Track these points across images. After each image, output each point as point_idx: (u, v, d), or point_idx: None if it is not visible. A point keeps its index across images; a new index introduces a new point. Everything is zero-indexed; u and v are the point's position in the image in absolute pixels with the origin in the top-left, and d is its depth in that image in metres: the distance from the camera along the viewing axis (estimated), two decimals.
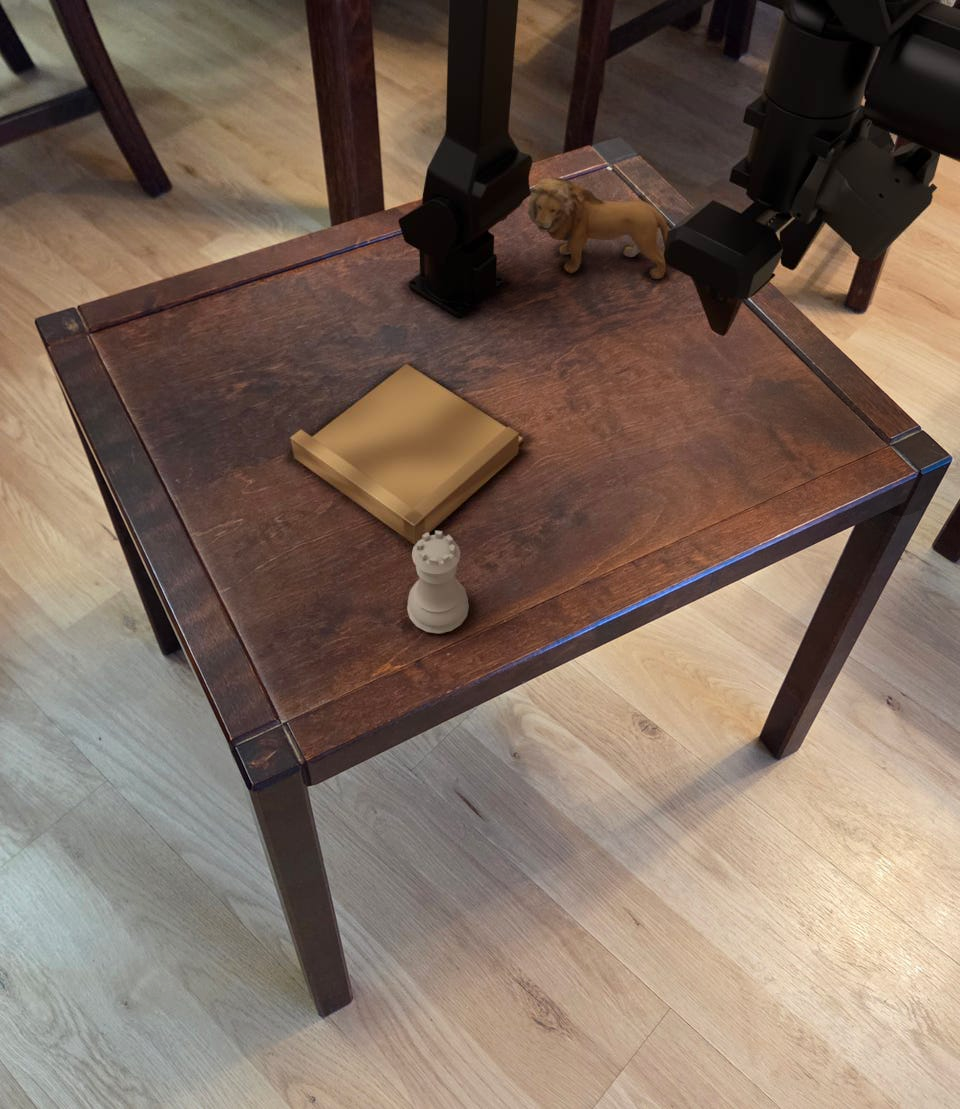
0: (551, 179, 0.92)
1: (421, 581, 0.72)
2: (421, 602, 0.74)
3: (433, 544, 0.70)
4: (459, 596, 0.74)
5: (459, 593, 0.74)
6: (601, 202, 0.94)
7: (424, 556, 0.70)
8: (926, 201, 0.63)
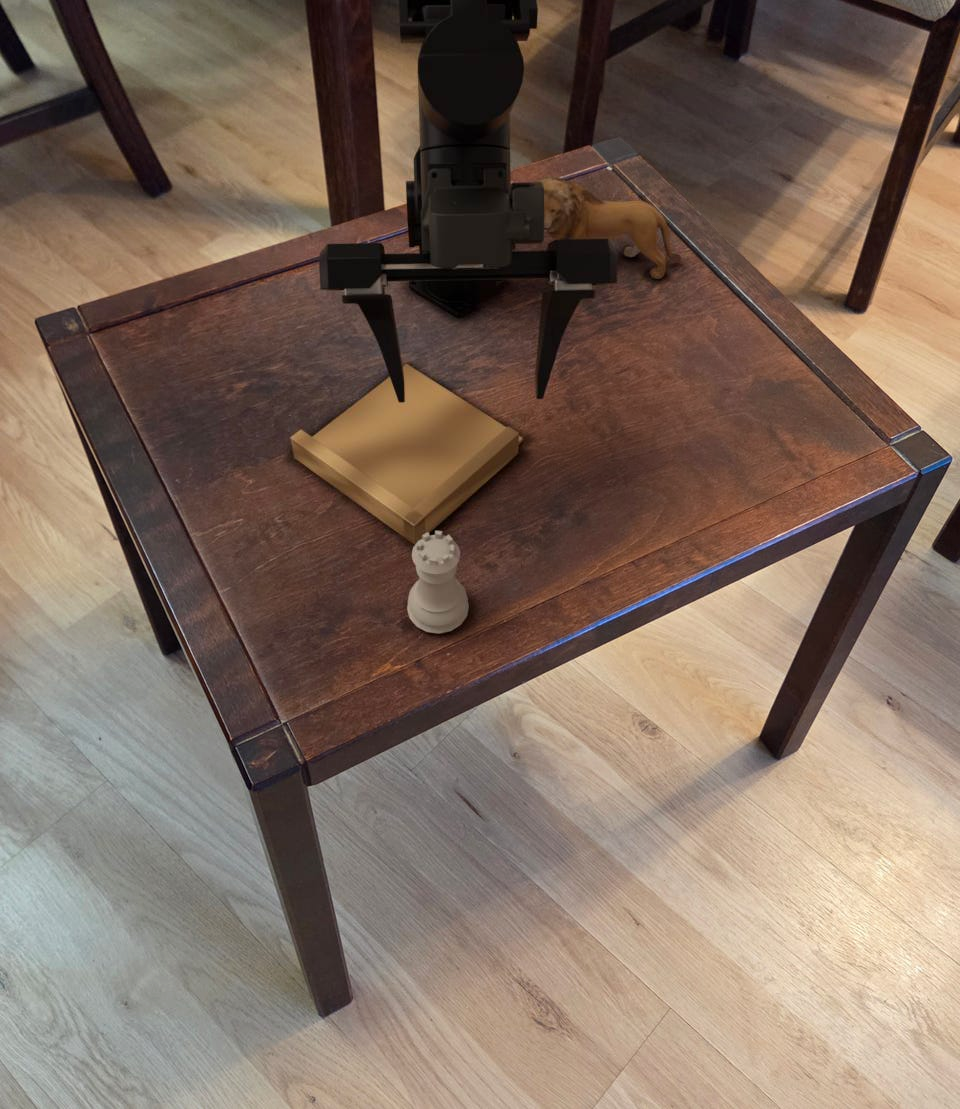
0: (551, 179, 0.92)
1: (421, 581, 0.72)
2: (421, 602, 0.74)
3: (433, 544, 0.70)
4: (459, 596, 0.74)
5: (459, 593, 0.74)
6: (601, 202, 0.94)
7: (424, 556, 0.70)
8: (495, 212, 0.60)
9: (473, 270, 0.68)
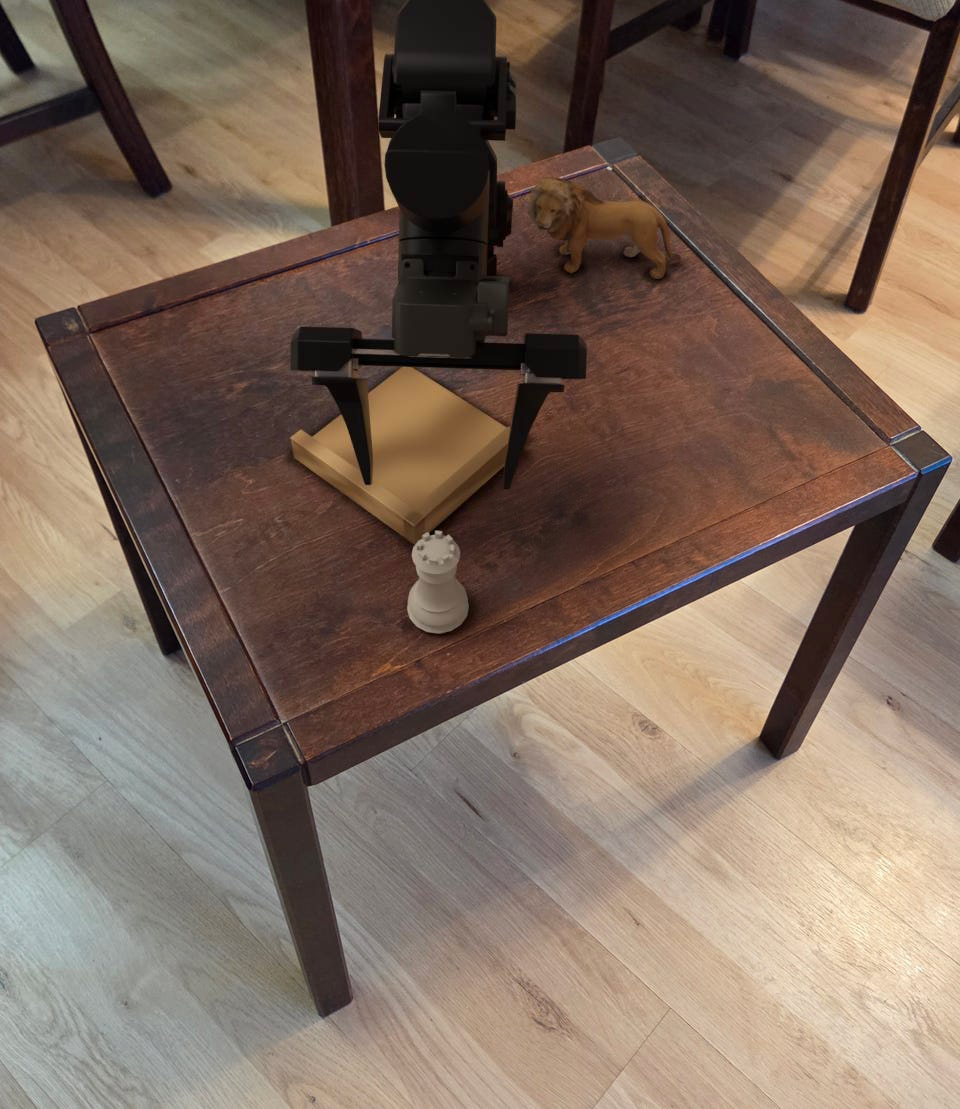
0: (551, 179, 0.92)
1: (421, 581, 0.72)
2: (421, 602, 0.74)
3: (433, 544, 0.70)
4: (459, 596, 0.74)
5: (459, 593, 0.74)
6: (601, 202, 0.94)
7: (424, 556, 0.70)
8: (458, 304, 0.60)
9: (445, 359, 0.68)
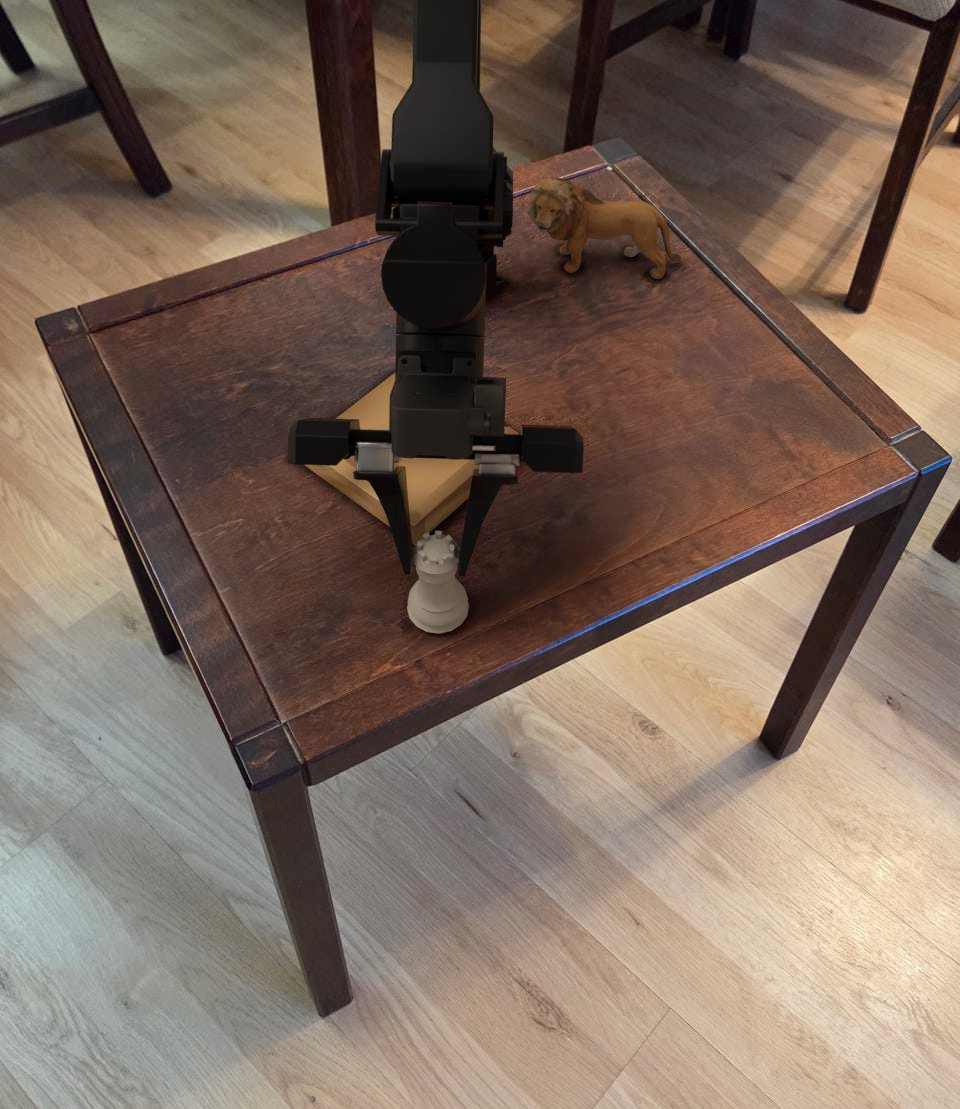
0: (551, 179, 0.92)
1: (421, 581, 0.72)
2: (421, 602, 0.74)
3: (433, 544, 0.70)
4: (459, 596, 0.74)
5: (459, 593, 0.74)
6: (601, 202, 0.94)
7: (424, 556, 0.70)
8: (455, 408, 0.60)
9: None
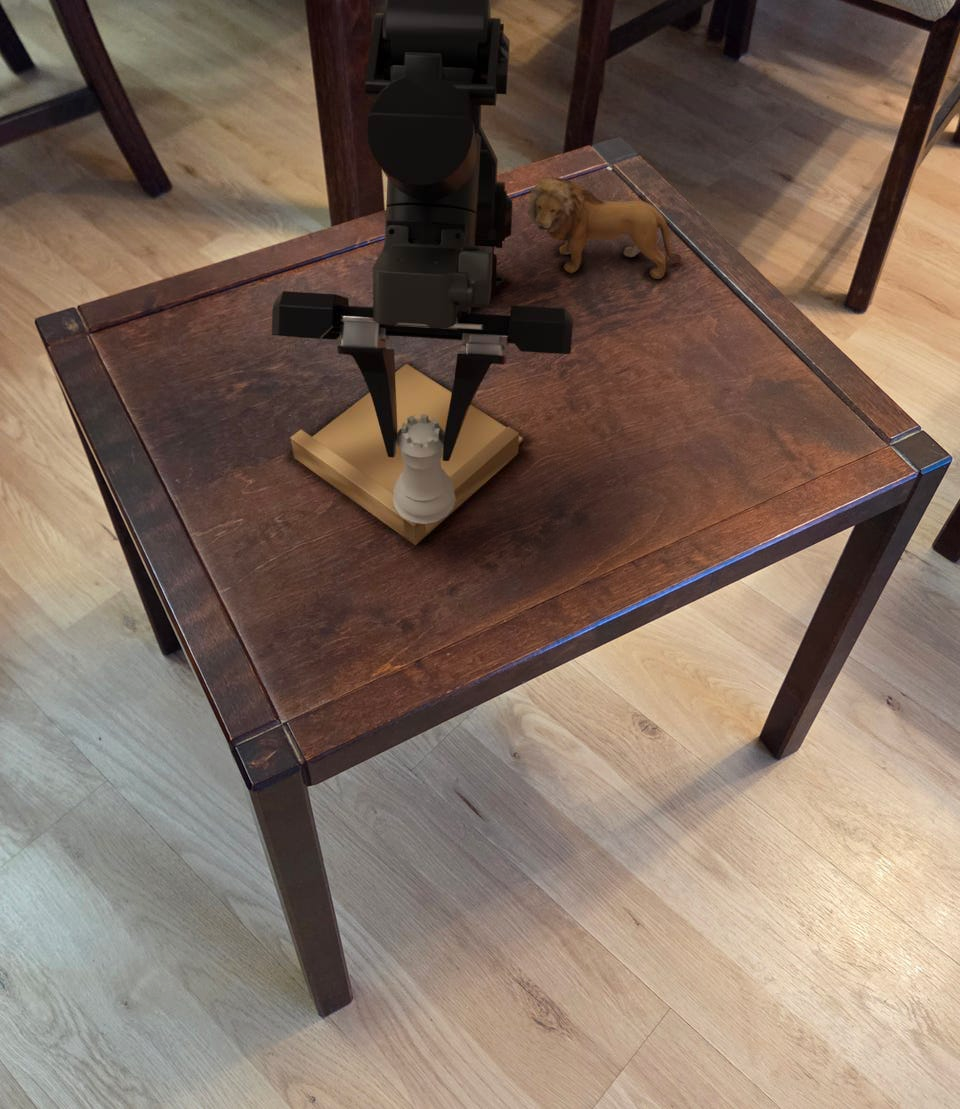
0: (551, 179, 0.92)
1: (406, 467, 0.71)
2: (406, 490, 0.73)
3: (418, 427, 0.69)
4: (445, 486, 0.73)
5: (445, 483, 0.73)
6: (601, 202, 0.94)
7: (408, 439, 0.69)
8: (438, 273, 0.59)
9: (430, 329, 0.67)
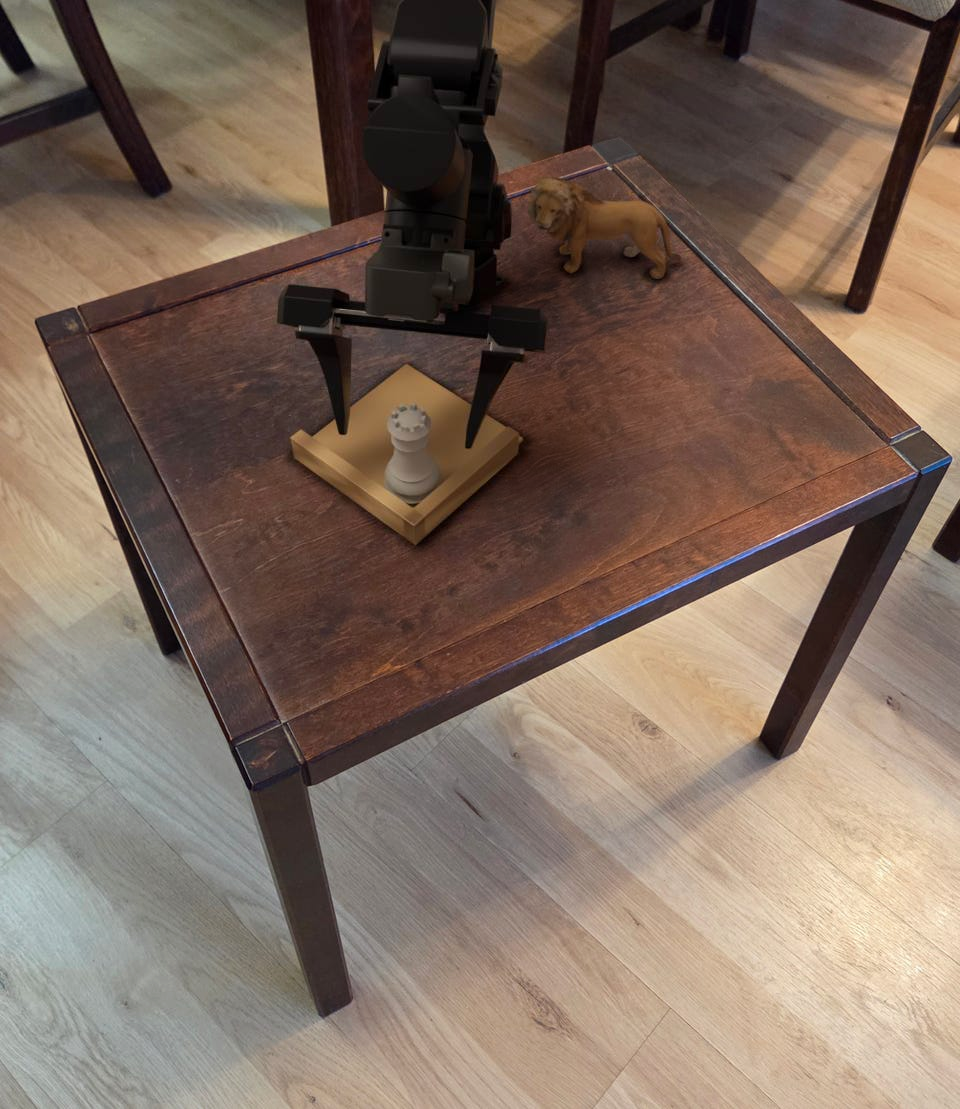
0: (551, 179, 0.92)
1: (395, 450, 0.79)
2: (395, 472, 0.80)
3: (407, 414, 0.77)
4: (431, 470, 0.80)
5: (431, 467, 0.81)
6: (601, 202, 0.94)
7: (397, 423, 0.76)
8: (422, 271, 0.66)
9: (419, 324, 0.74)
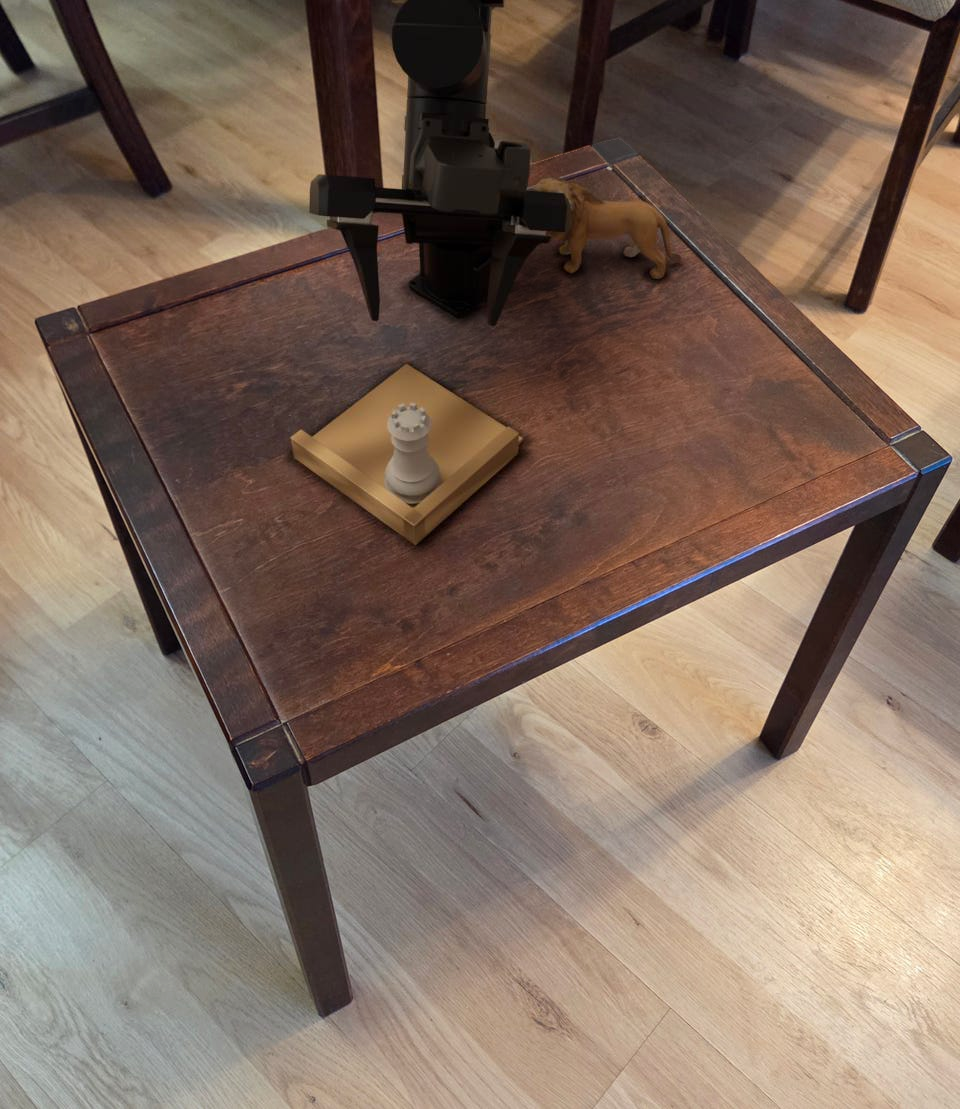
0: (551, 179, 0.92)
1: (395, 450, 0.79)
2: (395, 472, 0.80)
3: (407, 414, 0.77)
4: (431, 470, 0.80)
5: (431, 467, 0.81)
6: (601, 202, 0.94)
7: (397, 423, 0.76)
8: (493, 167, 0.70)
9: None
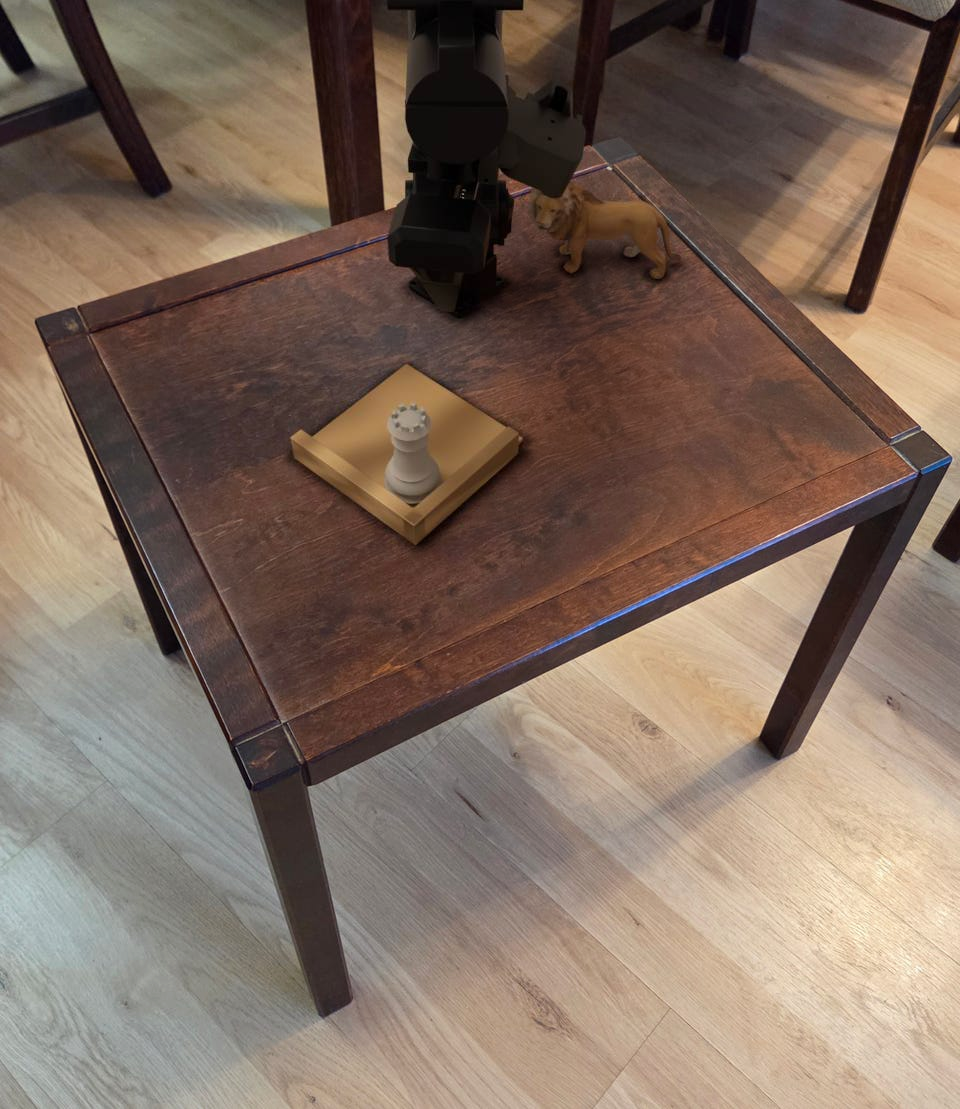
0: None
1: (395, 450, 0.79)
2: (395, 472, 0.80)
3: (407, 414, 0.77)
4: (431, 470, 0.80)
5: (431, 467, 0.81)
6: (601, 202, 0.94)
7: (397, 423, 0.76)
8: (582, 130, 0.70)
9: None
